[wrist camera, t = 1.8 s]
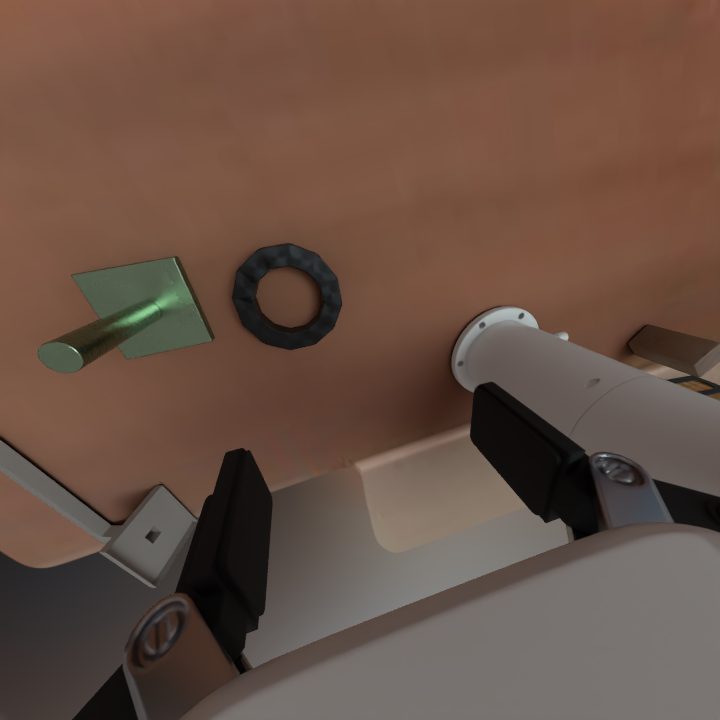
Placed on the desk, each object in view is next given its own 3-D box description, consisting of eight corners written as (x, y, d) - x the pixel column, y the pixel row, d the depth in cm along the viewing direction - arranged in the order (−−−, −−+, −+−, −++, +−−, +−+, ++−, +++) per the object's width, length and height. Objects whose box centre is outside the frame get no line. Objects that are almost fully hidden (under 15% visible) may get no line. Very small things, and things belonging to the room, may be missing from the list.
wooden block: (625, 343, 41) (694, 365, 34) (647, 323, 40) (722, 342, 33) (633, 355, 42) (700, 379, 35) (654, 336, 42) (727, 357, 35)
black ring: (327, 236, 25) (329, 236, 23) (345, 331, 29) (348, 337, 28) (220, 255, 24) (215, 256, 22) (257, 351, 28) (255, 358, 27)
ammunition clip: (645, 391, 48) (744, 435, 37) (650, 382, 47) (753, 426, 36) (688, 383, 50) (793, 424, 39) (693, 375, 49) (802, 414, 38)
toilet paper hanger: (16, 409, 28) (-95, 469, 22) (78, 400, 26) (-24, 463, 20) (147, 522, 39) (98, 583, 32) (198, 521, 37) (157, 587, 30)
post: (178, 256, 23) (92, 272, 13) (215, 337, 27) (169, 397, 17) (79, 273, 22) (-92, 304, 12) (132, 355, 26) (33, 429, 16)
